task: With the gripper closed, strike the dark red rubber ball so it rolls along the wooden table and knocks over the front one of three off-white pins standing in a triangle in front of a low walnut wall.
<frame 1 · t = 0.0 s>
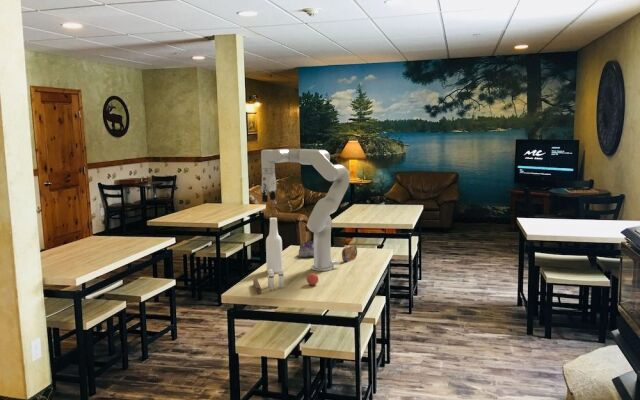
hand: (269, 200, 309), 37 cm above the table, fingers open, 9 cm apart
front pin: (281, 287, 266), on the table
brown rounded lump: (349, 260, 320), on the table
back pin left: (271, 289, 263), on the table
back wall: (257, 289, 264), on the table
back pin right: (270, 286, 268), on the table
geode: (310, 255, 335), on the table
alcohol: (274, 271, 297), on the table
ball: (312, 279, 270), on the table
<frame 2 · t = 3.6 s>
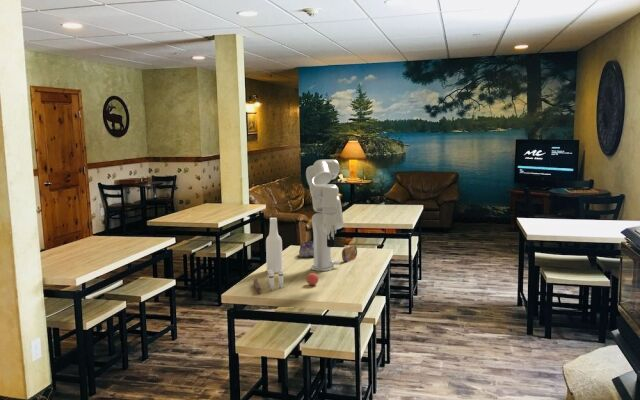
hand: (330, 246, 269), 19 cm above the table, fingers closed
nothing on the table moved.
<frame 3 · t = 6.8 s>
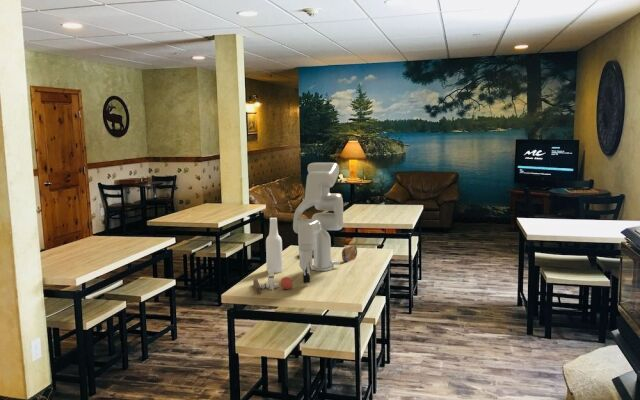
hand: (306, 282, 269), 2 cm above the table, fingers closed
front pin: (278, 285, 266), point 1 cm above the table, tilted 90°
ball: (286, 283, 263), on the table
everything else where it was.
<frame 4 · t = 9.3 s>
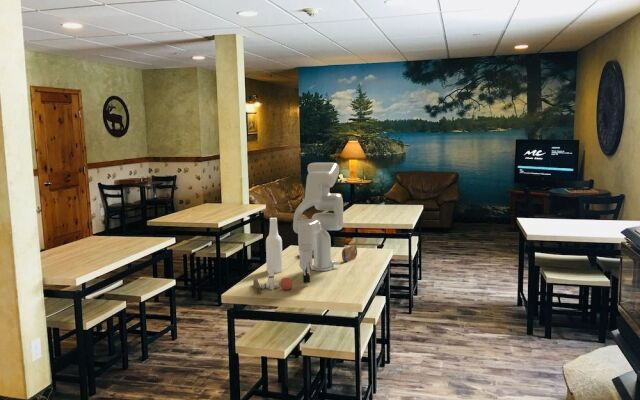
hand: (306, 282, 269), 2 cm above the table, fingers closed
ball: (286, 283, 262), on the table
everything else where it was.
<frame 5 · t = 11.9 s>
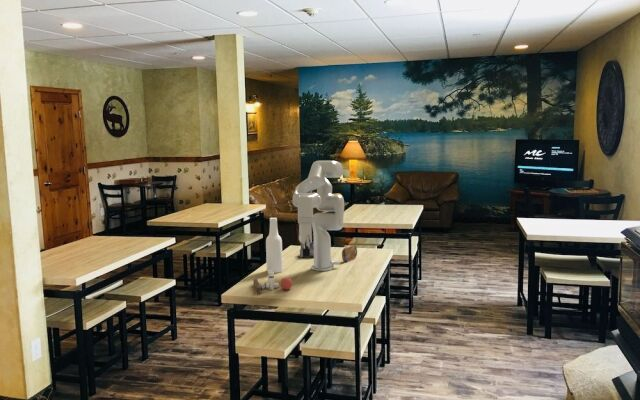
hand: (306, 255, 267), 15 cm above the table, fingers closed
nothing on the table moved.
at the end: front pin tilted 90°; front pin never touched the robot; ball moved 14.7 cm from its start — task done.
